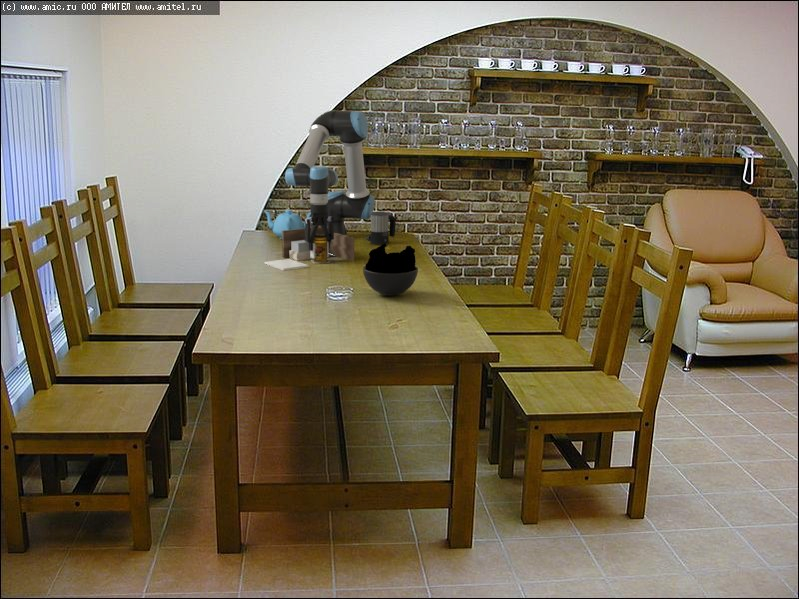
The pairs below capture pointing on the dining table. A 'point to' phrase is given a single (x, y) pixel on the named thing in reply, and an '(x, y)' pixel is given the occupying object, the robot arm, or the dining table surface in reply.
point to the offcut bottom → (299, 255)
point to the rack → (338, 246)
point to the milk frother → (381, 228)
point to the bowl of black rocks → (390, 270)
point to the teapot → (286, 222)
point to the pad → (286, 264)
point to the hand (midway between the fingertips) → (319, 257)
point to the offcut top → (299, 246)
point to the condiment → (320, 249)
